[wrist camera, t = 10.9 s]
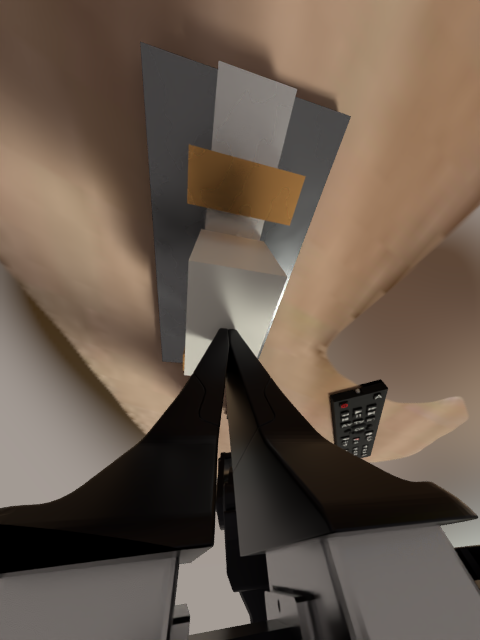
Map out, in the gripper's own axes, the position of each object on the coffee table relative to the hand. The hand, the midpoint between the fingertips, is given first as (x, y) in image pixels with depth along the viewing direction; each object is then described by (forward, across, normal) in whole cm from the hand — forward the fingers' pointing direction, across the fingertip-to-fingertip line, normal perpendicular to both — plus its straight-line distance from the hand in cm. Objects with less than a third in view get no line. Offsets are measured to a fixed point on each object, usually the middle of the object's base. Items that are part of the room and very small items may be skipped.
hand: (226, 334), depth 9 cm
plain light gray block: (+5, 0, 0) cm, 5 cm away
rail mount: (+7, 0, 0) cm, 7 cm away
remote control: (+8, -30, +28) cm, 42 cm away
